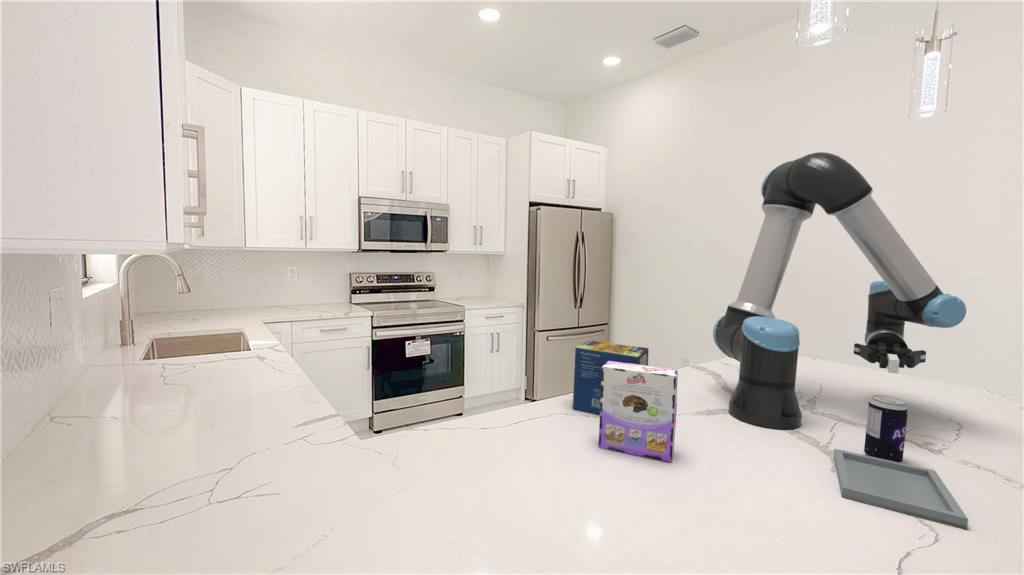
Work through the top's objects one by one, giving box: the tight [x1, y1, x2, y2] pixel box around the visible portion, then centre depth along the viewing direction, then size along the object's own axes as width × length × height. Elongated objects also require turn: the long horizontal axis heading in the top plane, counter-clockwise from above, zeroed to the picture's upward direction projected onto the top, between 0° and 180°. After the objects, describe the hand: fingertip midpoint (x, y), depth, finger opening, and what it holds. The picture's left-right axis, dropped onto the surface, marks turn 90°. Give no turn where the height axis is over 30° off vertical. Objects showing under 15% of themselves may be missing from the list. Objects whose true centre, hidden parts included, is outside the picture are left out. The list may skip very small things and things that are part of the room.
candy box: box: [597, 361, 679, 463], centre depth 85 cm, size 14×6×16 cm, turn 65°
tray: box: [833, 448, 969, 530], centre depth 74 cm, size 14×17×2 cm
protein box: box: [572, 340, 650, 416], centre depth 107 cm, size 10×15×16 cm
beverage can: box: [863, 394, 909, 463], centre depth 84 cm, size 6×6×12 cm
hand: (893, 366), depth 89 cm, fingers closed
